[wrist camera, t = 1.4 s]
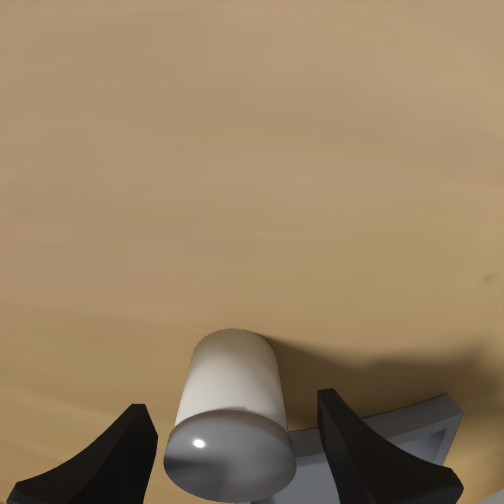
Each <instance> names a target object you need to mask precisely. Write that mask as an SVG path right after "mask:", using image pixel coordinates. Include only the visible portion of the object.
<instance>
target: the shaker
mask: <svg viewBox="0 0 504 504" xmlns="http://www.w3.org/2000/svg"><path fill="white" fill-rule="evenodd" d="M163 464H164V469H165V471H166V473H167V475H168V476H169V478H170V479H171V480H172V481H173V482H174V483H175V484H176V485H177V486H179V487H180V488H181V489H183V490H185V491H187V492H188V493H190V494H193V495H195V496H198V497H200V498H204V499H207V500H212V501H217V502H226V503H242V502H251V501H256V500H260V499H264V498H267V497H270V496H272V495H274V494H276V493H278V492H280V491H281V490H283V489H284V488H285V487H287V486H288V485H289V484H290V482H291V481H292V480H293V478H294V476H295V474H296V469H297V465H296V459H295V453H294V447H293V442H292V439H291V437H290V435H289V433H288V427H287V421H286V414H285V408H284V402H283V396H282V389H281V383H280V377H279V371H278V365H277V359H276V355H275V352H274V350H273V348H272V347H271V346H270V344H269V343H268V342H267V341H266V340H265V339H263V338H262V337H260V336H259V335H257V334H255V333H253V332H250V331H247V330H242V329H224V330H220V331H216V332H214V333H211V334H210V335H208V336H206V337H205V338H204V339H202V340H201V341H200V342H199V343H198V345H197V346H196V348H195V350H194V352H193V355H192V359H191V362H190V366H189V370H188V374H187V378H186V382H185V386H184V390H183V394H182V398H181V402H180V406H179V410H178V414H177V418H176V422H175V426H174V429H173V430H172V432H171V434H170V436H169V439H168V443H167V447H166V451H165V455H164V463H163Z"/></svg>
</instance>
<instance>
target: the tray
mask: <svg viewBox="0 0 504 504" xmlns="http://www.w3.org/2000/svg"><path fill="white" fill-rule="evenodd" d="M462 414H463V412H462V410H461V409H460V408H459V407H458V405H457V404H456V403H455V402H454V400H453V399H452V398H451V396H450V395H449V394H446V395H443V396H440V397H437V398H434V399H431V400H428V401H425V402H422V403H418V404H415V405H412V406H408V407H405V408H402V409H398V410H394V411H391V412H387V413H383V414H379V415H375V416H371V417H367V418H363V419H362V420H363V421H364V422H365V423H366V424H367V425H368V426H369V427H371V428H372V429H373V430H374V431H375V432H377V433H378V434H379V435H381V436H382V437H383V438H385V439H386V440H388V441H389V442H391V443H392V444H394V445H395V446H397V447H399V448H400V449H402V450H404V451H406V452H408V453H410V454H412V455H414V456H416V457H418V458H421V459H423V460H426V461H428V462H431V463H434V464H437V465H441V466H442V464H443V462H444V460H445V457H446V455H447V453H448V450H449V448H450V446H451V443H452V441H453V438H454V436H455V433H456V431H457V428H458V425H459V423H460V420H461V417H462ZM288 433H289V435H290V437H291V439H292V442H293V447H294V453H295V459H296V465H297V469H296V474H295V476H294V478H293V480H292V481H291V482H290V484H289V485H288V486H287V487H285V488H284V489H283V490H281V491H280V492H278V493H276V494H274V495H272V496H270V497H267V498H264V499H260V500H256V501H251V502H242V503H235V504H340V501H339V496H338V492H337V488H336V485H335V482H334V479H333V476H332V473H331V470H330V467H329V464H328V461H327V458H326V456H325V453H324V450H323V447H322V443H321V438H320V434H319V429H318V428H312V429H306V430H299V431H292V432H288Z"/></svg>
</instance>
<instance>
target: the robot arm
mask: <svg viewBox="0 0 504 504" xmlns="http://www.w3.org/2000/svg"><path fill="white" fill-rule="evenodd" d="M317 398H318V429H319V434H320V438H321V443H322V447H323V450H324V453H325V456H326V458H327V461H328V464H329V467H330V470H331V473H332V476H333V479H334V482H335V485H336V488H337V492H338V496H339V501H340V504H456V502H457V501H458V499H459V498H460V496H461V494H462V492H463V490H464V487H463V485H462V483H461V481H460V479H459V478H458V477H457V475H456V474H455V473H454V472H453V470H452V469H451V468H448V467H444V466H441V465H437V464H434V463H431V462H428V461H426V460H423V459H421V458H418V457H416V456H414V455H412V454H410V453H408V452H406V451H404V450H402V449H400V448H399V447H397V446H395V445H394V444H392V443H391V442H389V441H388V440H386V439H385V438H383V437H382V436H381V435H379V434H378V433H377V432H375V431H374V430H373V429H372V428H371V427H369V426H368V425H367V424H366V423H365V422H364V421H363V420H362V419H361V418H359V417H358V416H357V415H356V414H355V413H354V412H353V411H352V410H351V408H350V407H349V406H348V405H347V404H346V403H345V402H344V401H343V400H342V398H341V397H340V396H339V395H338V393H337V392H336V391H335V390H334V389H333V388H329V389H324V390H318V391H317ZM157 442H158V434H157V432H156V430H155V427H154V425H153V423H152V420H151V418H150V415H149V413H148V411H147V408H146V406H145V404H131V405H130V406H129V407H128V408H127V409H126V410H125V411H124V412H123V413H122V414H121V416H120V417H119V418H118V419H117V420H116V421H115V422H114V423H113V424H112V425H111V426H110V427H109V428H108V429H107V430H106V431H105V432H104V433H103V434H101V435H100V436H99V437H98V438H97V439H96V440H95V441H94V442H92V443H91V444H90V445H89V446H88V447H87V448H85V449H84V450H83V451H81V452H80V453H79V454H77V455H76V456H74V457H73V458H71V459H70V460H68V461H66V462H65V463H63V464H61V465H59V466H58V467H56V468H54V469H52V470H50V471H48V472H45V473H43V474H41V475H38V476H36V477H33V478H30V479H26V480H23V481H20V482H17V483H16V484H15V486H14V488H13V490H12V492H11V493H10V495H9V497H8V499H7V501H6V502H7V504H143V501H144V496H145V492H146V488H147V485H148V481H149V478H150V474H151V471H152V467H153V464H154V460H155V456H156V450H157Z"/></svg>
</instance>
